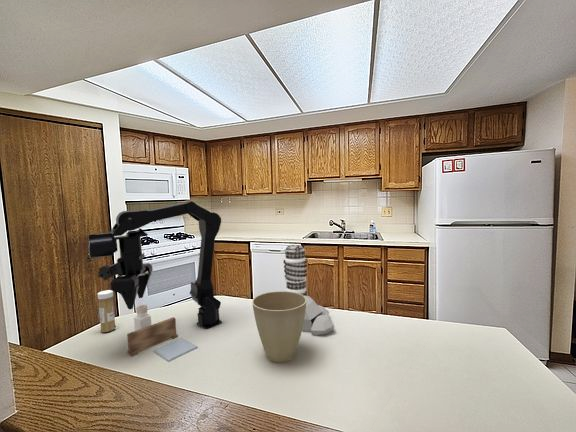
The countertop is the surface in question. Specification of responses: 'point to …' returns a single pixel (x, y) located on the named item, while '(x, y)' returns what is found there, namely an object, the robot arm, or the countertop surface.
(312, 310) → the rock
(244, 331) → the countertop surface
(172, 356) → the slate coaster
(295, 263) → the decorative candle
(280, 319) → the plant pot
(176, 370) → the countertop surface
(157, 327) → the walnut screen
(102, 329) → the spice jar
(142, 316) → the pepper shaker
